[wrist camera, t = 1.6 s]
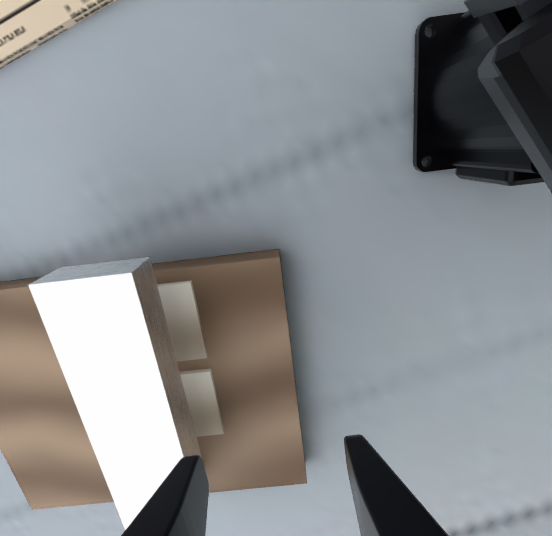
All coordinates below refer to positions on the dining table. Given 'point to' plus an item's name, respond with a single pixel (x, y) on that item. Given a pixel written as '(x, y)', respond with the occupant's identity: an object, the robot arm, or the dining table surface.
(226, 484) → the label board
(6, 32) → the beige long curved strip
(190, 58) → the dining table surface
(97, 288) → the swing bar
